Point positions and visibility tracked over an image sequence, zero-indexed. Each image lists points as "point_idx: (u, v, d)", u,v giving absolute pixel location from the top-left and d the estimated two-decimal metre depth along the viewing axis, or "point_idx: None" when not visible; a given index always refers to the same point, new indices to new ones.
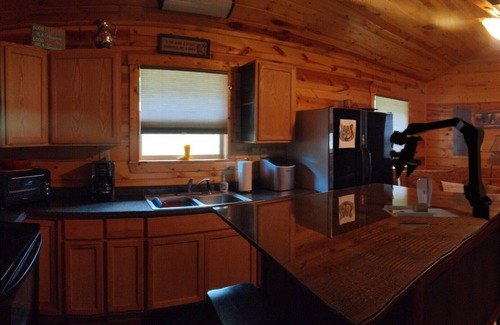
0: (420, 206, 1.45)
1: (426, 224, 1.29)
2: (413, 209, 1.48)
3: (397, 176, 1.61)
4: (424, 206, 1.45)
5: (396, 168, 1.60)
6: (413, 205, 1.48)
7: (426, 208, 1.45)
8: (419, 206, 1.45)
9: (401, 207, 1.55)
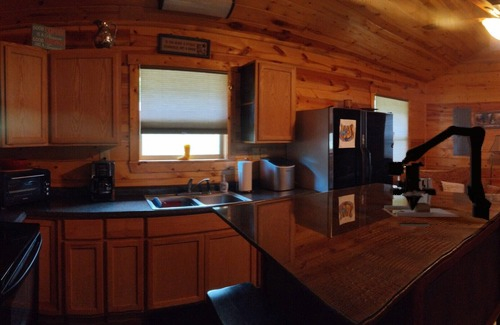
0: (422, 206, 1.45)
1: (426, 224, 1.29)
2: (415, 209, 1.48)
3: (410, 207, 1.47)
4: (426, 206, 1.45)
5: (407, 198, 1.48)
6: None
7: (428, 208, 1.45)
8: (421, 206, 1.45)
9: (401, 207, 1.55)
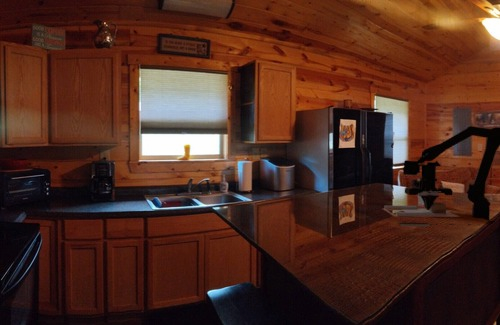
0: (438, 206, 1.44)
1: (426, 224, 1.29)
2: (430, 209, 1.48)
3: (426, 207, 1.47)
4: (442, 206, 1.44)
5: (423, 198, 1.48)
6: None
7: (444, 208, 1.44)
8: (437, 206, 1.44)
9: (401, 207, 1.55)
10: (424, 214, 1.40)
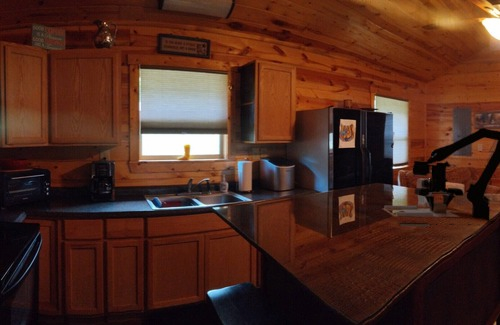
0: (438, 206, 1.44)
1: (426, 224, 1.29)
2: None
3: (430, 208, 1.47)
4: (442, 206, 1.44)
5: (427, 199, 1.48)
6: None
7: (444, 208, 1.44)
8: (437, 206, 1.44)
9: (401, 207, 1.55)
10: (424, 214, 1.40)
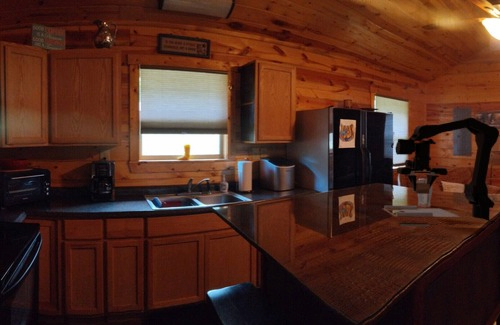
0: (421, 186, 1.37)
1: (426, 224, 1.29)
2: None
3: (413, 188, 1.39)
4: (425, 186, 1.37)
5: (410, 178, 1.40)
6: None
7: (427, 188, 1.37)
8: (420, 186, 1.37)
9: (401, 207, 1.55)
10: (424, 214, 1.40)
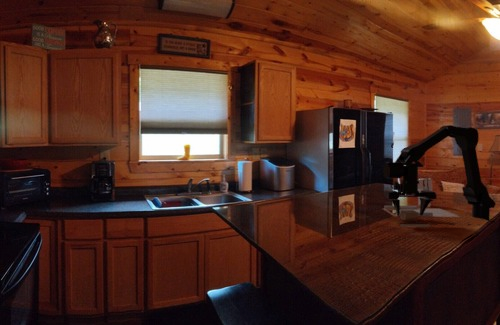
0: (410, 214, 1.32)
1: (426, 224, 1.29)
2: (402, 217, 1.36)
3: (397, 212, 1.34)
4: (414, 214, 1.32)
5: (393, 202, 1.35)
6: (402, 213, 1.35)
7: (416, 216, 1.32)
8: (408, 214, 1.32)
9: (401, 207, 1.55)
10: (424, 214, 1.40)
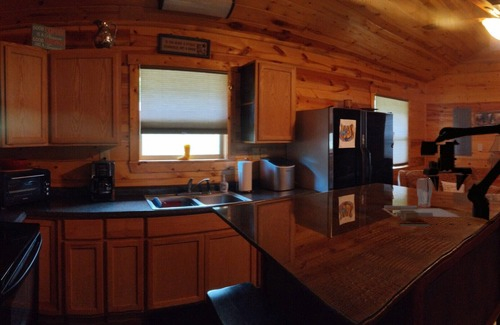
0: (410, 214, 1.32)
1: (426, 224, 1.29)
2: (402, 217, 1.36)
3: (435, 188, 1.43)
4: (414, 214, 1.32)
5: (432, 179, 1.44)
6: (402, 213, 1.35)
7: (416, 216, 1.32)
8: (408, 214, 1.32)
9: (401, 207, 1.55)
10: (424, 214, 1.40)
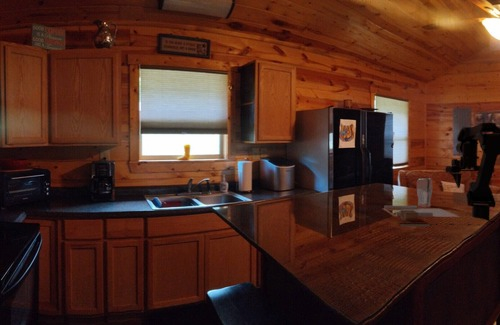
0: (410, 214, 1.32)
1: (426, 224, 1.29)
2: (402, 217, 1.36)
3: (457, 185, 1.50)
4: (414, 214, 1.32)
5: (454, 176, 1.51)
6: (402, 213, 1.35)
7: (416, 216, 1.32)
8: (408, 214, 1.32)
9: (401, 207, 1.55)
10: (424, 214, 1.40)
